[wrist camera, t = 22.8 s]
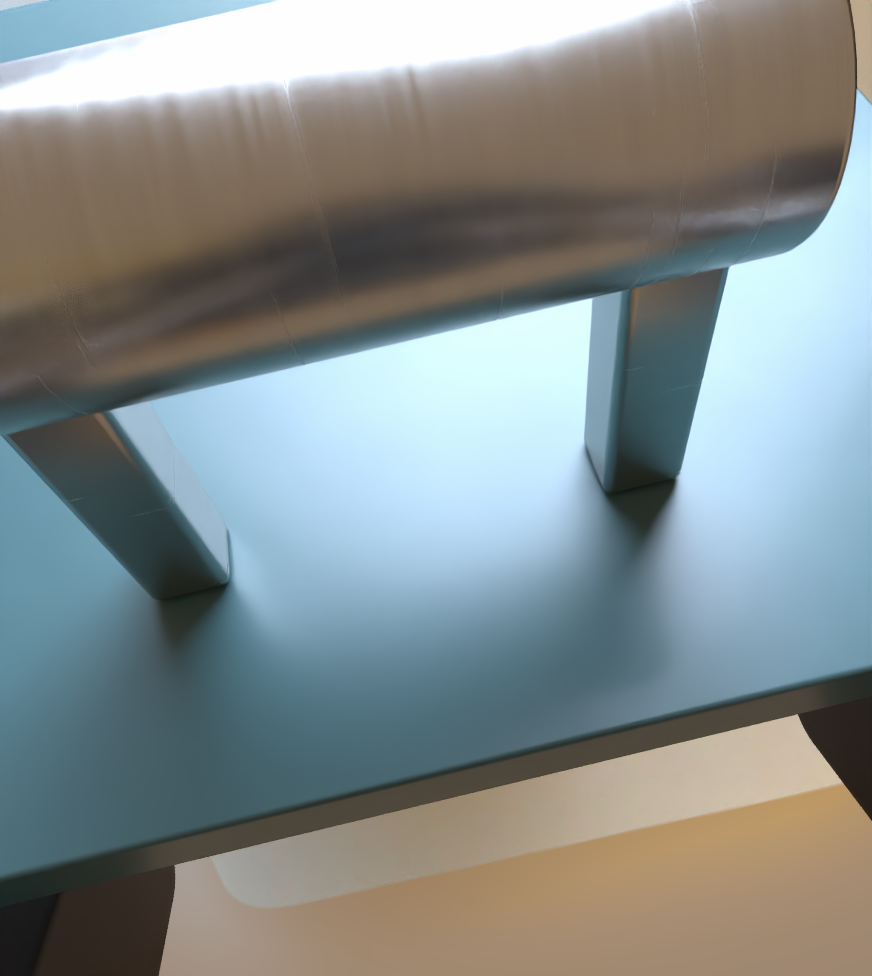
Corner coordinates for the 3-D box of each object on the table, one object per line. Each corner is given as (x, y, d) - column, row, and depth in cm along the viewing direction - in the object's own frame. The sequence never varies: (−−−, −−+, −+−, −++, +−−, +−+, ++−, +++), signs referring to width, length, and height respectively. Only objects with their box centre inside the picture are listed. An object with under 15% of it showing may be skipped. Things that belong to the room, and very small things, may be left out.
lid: (1216, 614, 7) (2310, -57, 3) (-284, 977, 7) (-1761, 898, 2) (654, -85, 14) (699, -553, 10) (-63, 77, 14) (-326, -332, 10)
